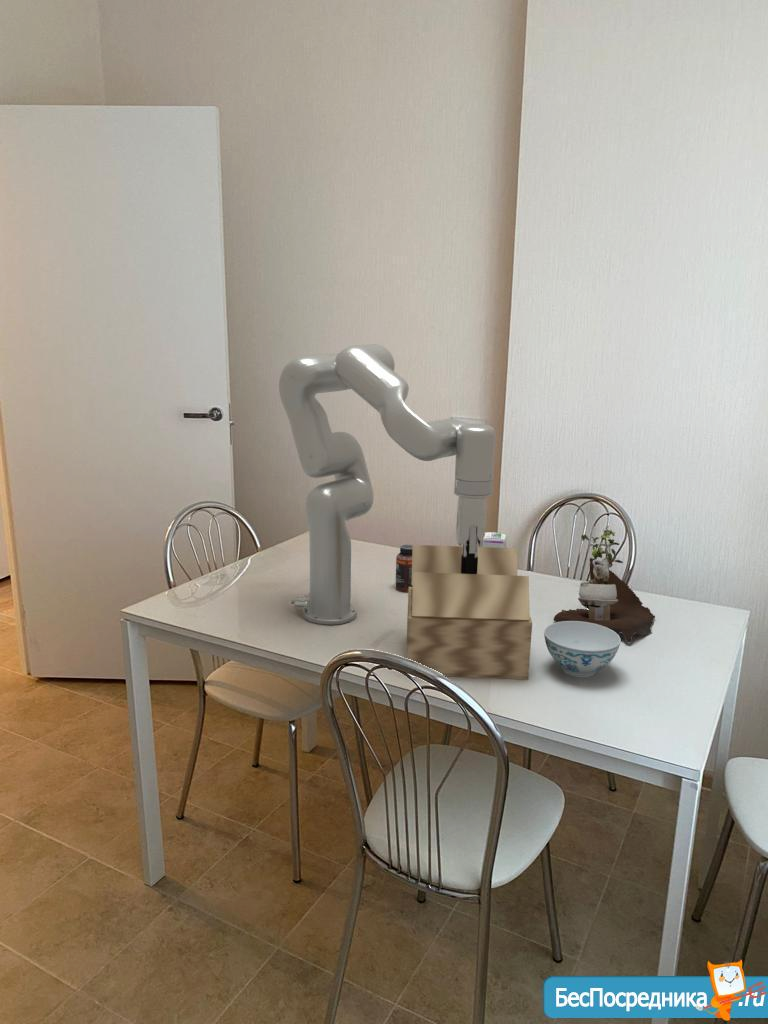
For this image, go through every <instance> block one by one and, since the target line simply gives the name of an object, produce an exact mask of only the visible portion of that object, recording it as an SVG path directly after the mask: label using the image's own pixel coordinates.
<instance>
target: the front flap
mask: <svg viewBox="0 0 768 1024" xmlns="http://www.w3.org/2000/svg"><path fill="white" fill-rule="evenodd" d="M529 577H530V576H529V575H517V576H513V575H483V574H454V573H425V572H413V592H412V616H416V617H445V618H473V619H502V620H530V618H531V614H530V613H531V612H530V578H529Z"/></svg>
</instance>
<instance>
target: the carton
mask: <svg viewBox="0 0 768 1024" xmlns="http://www.w3.org/2000/svg"><path fill="white" fill-rule="evenodd" d="M412 592H413V587H409V590H408V592H407V594H408V597H407V623H406V624H407V625H406V659H407V658H408V659H411V660H413V661H416V662H418V663H421V664H422V665H425V666H427V667H429V668H432V669H434V670H436V671H438V672H440V673H442V674H443V675H445V676H444V677H457V678H459V677H461V678H462V677H463V678H483V679H484V678H485V679H486V678H487V679H515V680H529V673H530V671H529V670H530V659H531V657H530V655H531V646H532V644H531V643H532V633H533V631H532V630H533V621H532V618H531V617H530V620H502V619H473V618H445V617H416V616H412Z"/></svg>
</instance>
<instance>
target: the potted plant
mask: <svg viewBox="0 0 768 1024" xmlns="http://www.w3.org/2000/svg"><path fill="white" fill-rule="evenodd" d="M615 534H616V532H615V531H613V530H611V529H608V528H604V529H603V534H601V536H600V537H597V536H596V537H595V538H594V537H593V536H592V537H591V538H592V541H591V539H590V538H589V536H588V535H587V533H586V534H582V535H581V540H582V542H584V541H585V540H587V541H588V542H589V543H590V544H589V545H588V546H589V547H592V550H593V551H592V552H591V556H592V557H593V558H592V557H590V558H589V578H590V579H589V580H588V582H580V586H579V588H578V589H579V590H578V598H577V600H578V601H579V604H580V605H581V606H583V607H584V608H576V609H571V608H570V609H568V610H565V609H561V611H560V612H557V613H556V614H555V615H554V617H553V622H555V623H557V622H562V621H581V622H589V623H594V624H598V625H601V626H604V627H607V628H609V629H611V630H613V631H614V632H616V633H617V634H618V635H619V634H622V636H623V638H624V639H625V640H624V641H626V643H629V644H631V643H632V637H633V636H634V635H635V634H639V635H641V636H647V635H649V634H652V633H651V631H652V629H651V628H652V625H653V624H655V623H654V620H655V618H656V615H655V614H653V613H652V612H651V610H650V608H649V607H647V606H644V605H643V604H644V603H643V602H642V601H641V600H640V597H638V596H637V595H636V593H635V592H634V590H633V589H632V588H630V586H629V585H628V584H627V583H626V582H625V581H624V580H622V579H621V578H620V577H619V576H618V575H617V574H615V572H613V571H612V570H611V569H610V568H612V566H614V564H613V563H619V564H623V563H624V561H622V560H620V559H617V556H616V551H615V549H614V548H611V546H614V545H616V546H620V543H619V542H615V539H614V538H613V539H612V538H611V536H613V537H615V536H616V535H615ZM598 539H601V541H604V543H603V542H600V543H597V540H598ZM607 541H608V542H607ZM599 546H603V547H604V548H605V549H603V547H599ZM603 554H605V557H604V558H603ZM598 558H600V559H602V560H599V559H598ZM585 608H588V609H589V610H587V609H585Z"/></svg>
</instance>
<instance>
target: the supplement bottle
mask: <svg viewBox="0 0 768 1024" xmlns="http://www.w3.org/2000/svg"><path fill="white" fill-rule="evenodd" d="M413 545H414V544H402V545H400V548H399V552H398V553H397V555H396V557H395V588H396V590H398V591H400V592H405V593H408V590H409V587H413V585H411V582H412V548H413Z"/></svg>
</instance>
